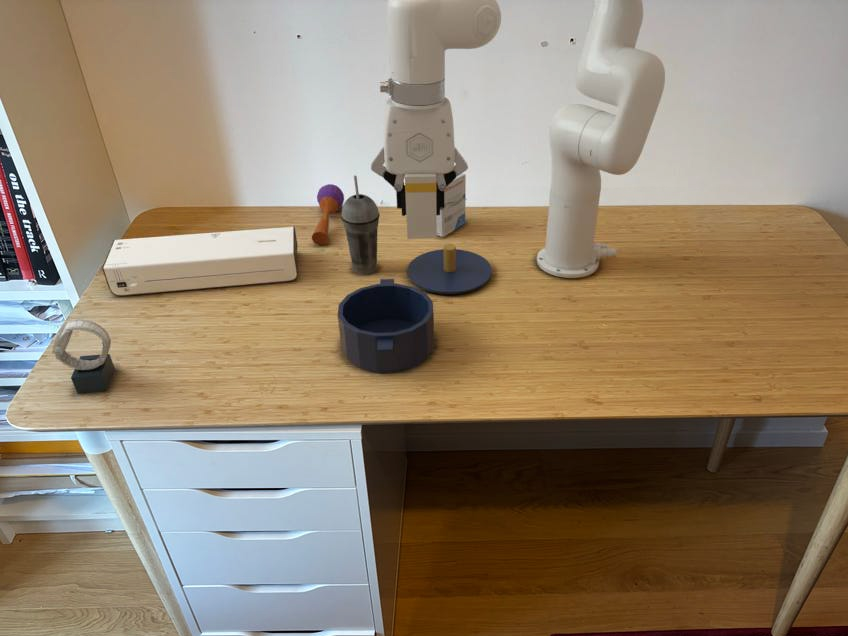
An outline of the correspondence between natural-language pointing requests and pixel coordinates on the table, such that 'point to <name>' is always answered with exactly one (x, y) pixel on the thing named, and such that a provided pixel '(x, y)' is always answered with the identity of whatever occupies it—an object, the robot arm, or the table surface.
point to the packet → (421, 206)
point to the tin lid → (449, 271)
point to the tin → (386, 327)
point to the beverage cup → (361, 231)
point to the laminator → (201, 261)
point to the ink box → (452, 207)
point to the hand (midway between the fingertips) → (420, 210)
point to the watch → (86, 358)
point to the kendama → (327, 210)
